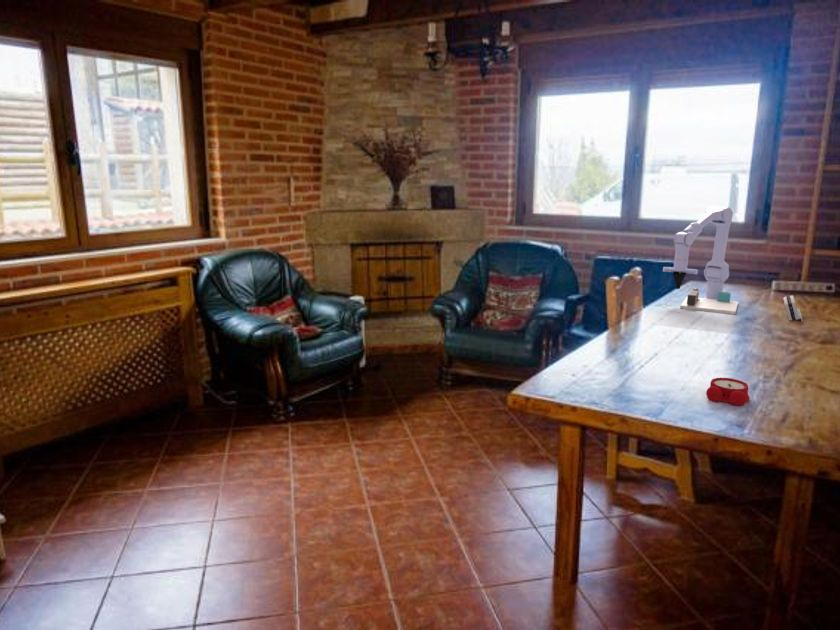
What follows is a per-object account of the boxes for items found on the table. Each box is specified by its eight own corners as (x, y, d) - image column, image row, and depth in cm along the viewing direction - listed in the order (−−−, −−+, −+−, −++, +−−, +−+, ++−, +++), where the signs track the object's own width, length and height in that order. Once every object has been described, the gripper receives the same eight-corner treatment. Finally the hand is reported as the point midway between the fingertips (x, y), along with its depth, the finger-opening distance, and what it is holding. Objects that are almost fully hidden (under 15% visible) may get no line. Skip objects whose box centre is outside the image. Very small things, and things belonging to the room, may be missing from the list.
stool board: (686, 298, 289) (687, 288, 288) (738, 304, 279) (739, 293, 277) (680, 308, 270) (681, 296, 269) (735, 314, 259) (736, 302, 258)
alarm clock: (752, 381, 167) (749, 385, 154) (749, 403, 167) (745, 409, 155) (711, 374, 172) (705, 378, 160) (708, 396, 173) (701, 401, 160)
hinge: (803, 322, 247) (797, 298, 246) (789, 324, 249) (783, 301, 249) (801, 313, 261) (795, 291, 260) (788, 316, 264) (782, 294, 263)
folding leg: (691, 297, 284) (692, 288, 283) (698, 298, 282) (699, 288, 281) (686, 304, 270) (687, 294, 269) (694, 305, 268) (695, 294, 267)
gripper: (662, 258, 272) (659, 288, 275) (697, 261, 265) (694, 291, 268) (665, 256, 278) (662, 285, 281) (699, 259, 271) (696, 289, 274)
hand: (678, 288), depth 275 cm, fingers closed
